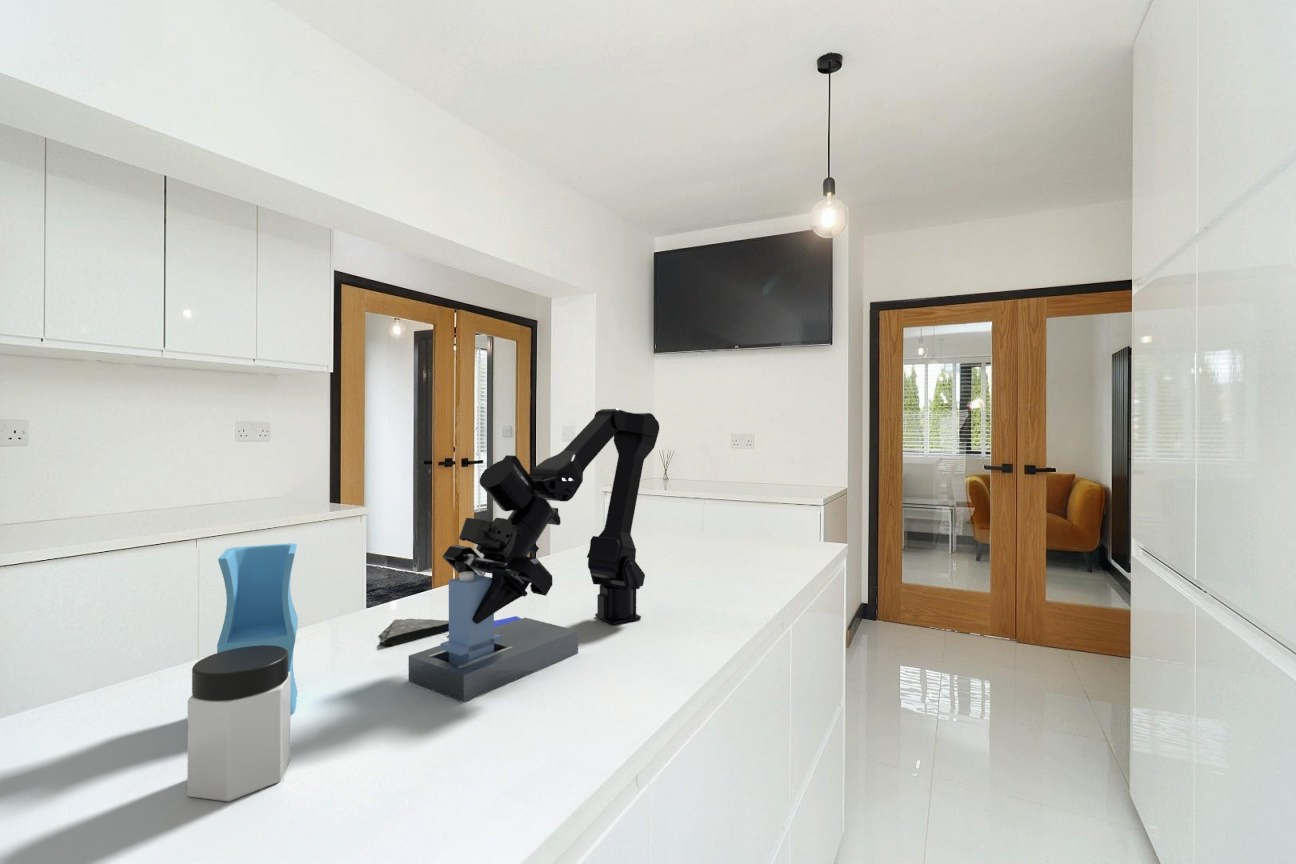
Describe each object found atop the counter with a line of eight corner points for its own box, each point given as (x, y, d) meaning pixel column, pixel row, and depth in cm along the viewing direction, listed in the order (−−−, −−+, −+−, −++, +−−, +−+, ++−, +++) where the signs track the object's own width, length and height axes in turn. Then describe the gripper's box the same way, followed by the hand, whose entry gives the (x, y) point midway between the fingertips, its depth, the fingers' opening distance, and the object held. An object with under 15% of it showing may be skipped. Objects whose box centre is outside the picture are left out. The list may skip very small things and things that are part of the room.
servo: (481, 652, 92) (481, 565, 92) (501, 658, 89) (501, 569, 89) (440, 667, 86) (440, 574, 86) (460, 675, 84) (460, 579, 84)
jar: (275, 747, 68) (275, 638, 68) (305, 773, 63) (305, 655, 63) (175, 782, 61) (176, 661, 61) (200, 814, 56) (200, 682, 56)
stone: (384, 652, 99) (384, 638, 99) (358, 639, 106) (358, 626, 106) (459, 632, 109) (459, 619, 109) (431, 621, 116) (431, 609, 116)
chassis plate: (524, 638, 104) (525, 616, 104) (578, 652, 97) (578, 630, 97) (408, 680, 86) (408, 654, 86) (463, 702, 79) (463, 674, 79)
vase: (216, 730, 72) (217, 558, 72) (226, 703, 79) (227, 547, 79) (294, 715, 76) (295, 552, 76) (297, 691, 83) (297, 542, 83)
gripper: (453, 493, 96) (388, 577, 87) (538, 501, 86) (474, 598, 77) (492, 536, 103) (435, 619, 94) (576, 548, 92) (521, 643, 83)
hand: (463, 619), depth 87 cm, fingers closed on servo, 4 cm apart
